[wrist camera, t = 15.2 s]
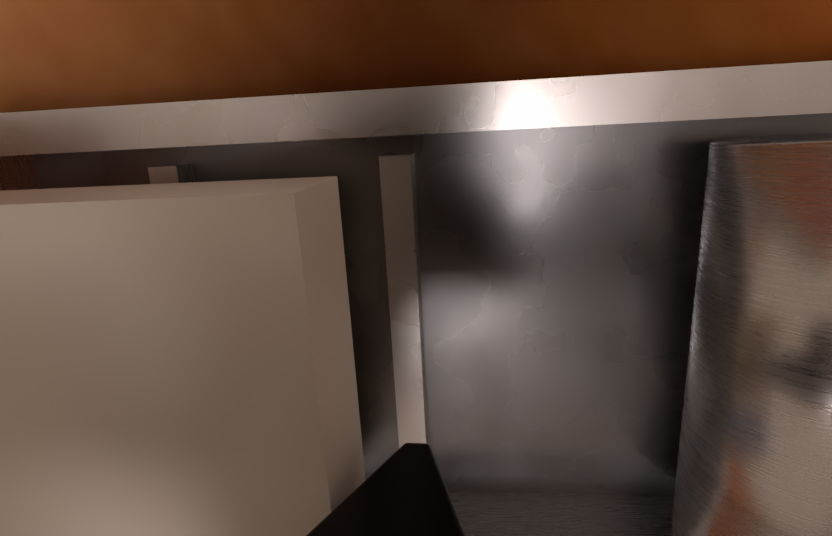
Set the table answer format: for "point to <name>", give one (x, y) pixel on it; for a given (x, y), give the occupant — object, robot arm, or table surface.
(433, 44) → the table surface
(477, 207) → the grey rectangular tray
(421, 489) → the robot arm
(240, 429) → the slab
